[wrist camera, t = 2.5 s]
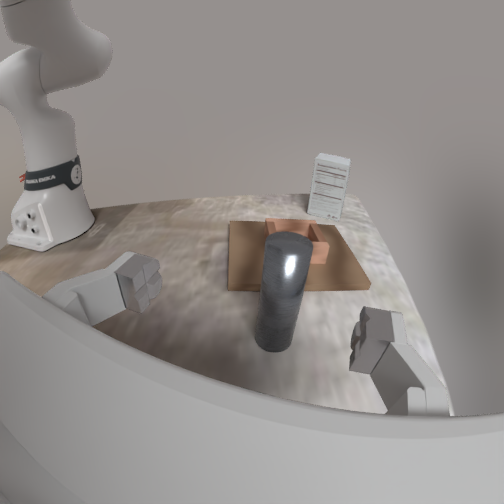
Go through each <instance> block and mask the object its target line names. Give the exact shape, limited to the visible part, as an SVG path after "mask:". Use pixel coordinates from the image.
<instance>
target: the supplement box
mask: <svg viewBox="0 0 504 504" xmlns="http://www.w3.org/2000/svg"><path fill="white" fill-rule="evenodd" d="M350 163H351V159H348V158H343V157H339V156H334V155H330V154H325V153H320V154H319V155H318V156H317V157H316V158H315V164H314V170H313V178H312V184H311V191H310V197H309V204H308V211H307V213H308V214H311V215H314V216H318V217H323V218H326V219H330V220H335V221H339V220H340V216H341V213H342V208H343V203H344V198H345V193H346V188H347V183H348V176H349V170H350Z"/></svg>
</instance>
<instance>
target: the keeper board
mask: <svg viewBox="0 0 504 504" xmlns="http://www.w3.org/2000/svg"><path fill="white" fill-rule="evenodd" d="M282 231H287V232H294V233H298V234H301V235H303V236H305V237H307V238H308V239H309V240H311V242H312V243H313V252H312V257H311V261H310V266H309V271H308V275H307V280H306V284H305V288H304V291H344V290H369V288H370V285H371V282H370V281H369V279H368V277H367V276H366V274H365V272H364V271H363V269H362V267H361V266H360V264H359V263H358V261H357V259H356V258H355V256H354V255H353V253H352V251H351V250H350V248H349V247H348V245H347V244H346V242H345V240H344V239H343V237H342V236H341V234H340V233H339V231H338V230H337V228H336V227H335V225H322V224H317V223H316V221H315V220H296V219H274V218H266V220H265V222H255V221H230V233H229V269H228V291H260V289H261V279H262V270H263V260H264V251H265V241H266V238H267V236H269V235H270V234H272V233H275V232H282Z"/></svg>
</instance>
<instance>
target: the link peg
mask: <svg viewBox="0 0 504 504" xmlns="http://www.w3.org/2000/svg"><path fill="white" fill-rule="evenodd" d="M312 252H313V243H312V242H311V240H309V239H308V238H307V237H305V236H303V235H301V234H298V233H294V232H287V231H282V232H275V233H272V234H270V235H269V236H267V238H266V241H265V251H264V260H263V270H262V279H261V289H260V298H259V307H258V316H257V325H256V334H255V340H256V343H257V344H258V346H259V347H261V348H262V349H264V350H266V351H269V352H281V351H284V350H285V349H287V348H288V347H289V346H290V344H291V341H292V337H293V333H294V329H295V326H296V322H297V318H298V314H299V309H300V305H301V301H302V297H303V293H304V288H305V284H306V280H307V275H308V271H309V266H310V261H311V257H312Z"/></svg>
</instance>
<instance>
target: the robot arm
mask: <svg viewBox="0 0 504 504" xmlns="http://www.w3.org/2000/svg"><path fill="white" fill-rule="evenodd" d="M0 6H1V11H2V15H3V20H4V24H5V28H6V32H7V36H8V37H9V39H10V40H11V41H13V42H14V43H17V44H22V45H29V46H31V47H28V48H25V49H23V50H20V51H18V52H16V53H14V54H13V55H11V56H9V57H8V58H6V59H5V60H3V61H2V62H0V105H2V106H4V107H5V108H7V109H8V110H9V111H10V112H11V114H12V115H13V116H14V118H15V120H16V122H17V124H18V126H19V129H20V132H21V136H22V141H23V146H24V153H25V159H26V166H27V171H26V173H25V174H23V175H22V176H20V177H19V178H21V177H23V179H21V180H20V182H22V181H23V180H25V184H24V189H25V190H24V192H23V194H22V195H21V197H20V198H19V200H18V202H17V203H16V205H15V207H14V208H13V210H12V213H11V220H12V226H13V230H12V231H11V233H10V234H9V235H8V237H7V242H8V244H12V245H16V246H20V247H24V248H28V249H33V250H37V251H46V250H48V249H50V248H51V247H53V246H55V245H57V244H59V243H62V242H65V241H68V240H71V239H73V238H75V237H77V236H79V235H81V234H82V233H84V232H85V231H86V230H88V229H89V228H90V227H91V226H92V224H93V223H94V220H95V218H94V216H93V214H92V212H91V210H90V208H89V206H88V203H87V200H86V197H85V194H84V191H83V187H82V173H81V165H80V159H79V156H78V155H77V148H76V137H75V123H74V120H73V118H72V116H71V115H70V114H68V113H67V112H65V111H62V110H59V109H55V108H51V107H50V106H49V104H48V102H47V94H49V93H52V92H55V91H59V90H63V89H68V88H72V87H77V86H80V85H83V84H85V83H88V82H90V81H93V80H96V79H98V78H100V77H101V76H102V75H103V74H104V73H105V72H106V70H107V69H108V67H109V65H110V62H111V59H112V45H111V42H110V40H109V39H108V37H107V36H106V35H105V34H103V33H102V32H98V31H96V30H93V29H91V28H89V27H88V26H86V25H85V24H84V23H83V22H82V21H80V20H79V18H78V17H77V16H76V15H75V13H74V11H73V8H72V5H71V0H0ZM159 269H160V265H159V261H158V260H157V259H155V258H152V257H148V256H145V255H142V254H137V253H134V252H131V251H127V252H125V253H124V254H123V255H121V256H120V257H119V258H118V259H116V260H115V261H114V262H113V263H112V264H110V265H109V266H108V267H107V268H106V269H105V270H104V269H100V270H96V271H93V272H90V273H87V274H84V275H81V276H78V277H75V278H72V279H68V280H65V281H62V282H59V283H57V284H56V285H55V286H54V287H53V288H52V289H50V290H49V291H48V292H47V293H46V294H45V295H44V296H42V297H40V296H38V295H37V294H35V293H34V292H32V291H31V290H29V289H28V288H27V287H25V286H24V285H22V284H21V283H19V282H18V281H17V280H15V279H14V278H12V277H11V276H10V275H9V274H7V273H6V272H4V271H0V504H504V412H501V413H493V414H484V415H470V416H450V413H449V405H448V397H447V390H446V387H445V386H444V385H443V384H442V382H441V381H440V380H439V379H438V377H437V376H436V375H435V374H434V372H433V371H432V370H431V369H430V367H429V366H428V365H427V364H426V362H425V361H424V360H423V359H422V357H421V356H420V355H419V354H418V353H417V351H416V350H415V349H414V348H413V347H412V345H408V342H407V336H406V330H405V324H404V319H403V314H402V313H401V312H395V311H387V310H381V309H376V308H370V307H365V306H364V307H363V308H362V310H361V313H360V321H359V322H357V323H356V325H355V327H354V330H353V334H352V338H351V349H352V350H353V351H352V353H351V355H350V365H349V371H354V372H359V373H365V374H370V376H371V378H372V380H373V382H374V384H375V386H376V388H377V390H378V392H379V394H380V396H381V398H382V400H383V402H384V404H385V406H386V408H387V410H388V411H387V412H386V413H385V414H376V413H366V412H358V411H350V410H343V409H336V408H330V407H324V406H319V405H313V404H308V403H303V402H298V401H293V400H289V399H284V398H280V397H276V396H272V395H268V394H264V393H260V392H256V391H252V390H249V389H245V388H242V387H238V386H235V385H231V384H228V383H225V382H222V381H219V380H216V379H213V378H210V377H207V376H204V375H201V374H198V373H195V372H192V371H190V370H187V369H184V368H181V367H179V366H176V365H174V364H171V363H169V362H166V361H164V360H161V359H159V358H156V357H154V356H152V355H149V354H147V353H145V352H142V351H140V350H138V349H136V348H133V347H131V346H129V345H127V344H125V343H123V342H121V341H118V340H116V339H114V338H112V337H110V336H108V335H106V334H104V333H102V332H100V331H98V330H97V329H95V328H93V327H92V326H94V325H96V324H98V323H100V322H102V321H104V320H106V319H108V318H110V317H111V316H113V315H115V314H117V313H119V312H121V311H123V310H125V309H129V310H132V311H135V312H138V313H140V314H142V313H143V312H144V310H145V309H146V308H147V307H148V306H149V305H150V299H153V298H155V297H156V296H157V295H158V294H159V293H160V290H161V287H162V277H161V275H160V274H159V272H158V270H159Z"/></svg>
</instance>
